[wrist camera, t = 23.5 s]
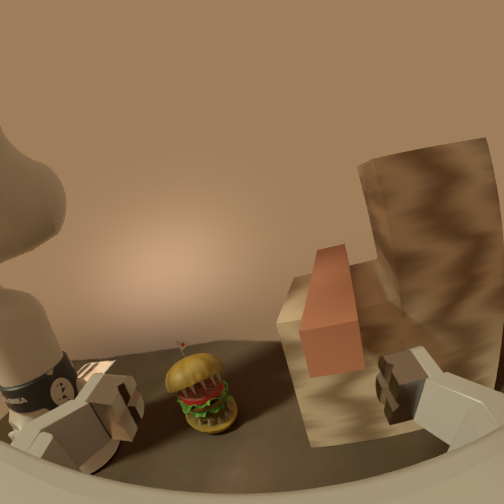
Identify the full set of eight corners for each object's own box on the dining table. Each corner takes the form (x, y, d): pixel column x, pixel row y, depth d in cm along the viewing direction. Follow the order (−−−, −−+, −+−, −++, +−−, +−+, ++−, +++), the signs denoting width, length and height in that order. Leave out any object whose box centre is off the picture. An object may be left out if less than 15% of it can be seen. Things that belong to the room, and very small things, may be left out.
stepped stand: (311, 447, 26) (239, 193, 22) (319, 382, 37) (270, 189, 33) (490, 406, 20) (485, 137, 16) (458, 351, 31) (437, 150, 27)
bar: (310, 378, 15) (298, 331, 15) (323, 276, 32) (317, 250, 31) (365, 369, 14) (357, 320, 14) (350, 270, 31) (344, 243, 31)
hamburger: (201, 448, 30) (160, 370, 28) (181, 421, 36) (146, 349, 34) (254, 419, 33) (224, 340, 31) (228, 398, 40) (200, 326, 38)
